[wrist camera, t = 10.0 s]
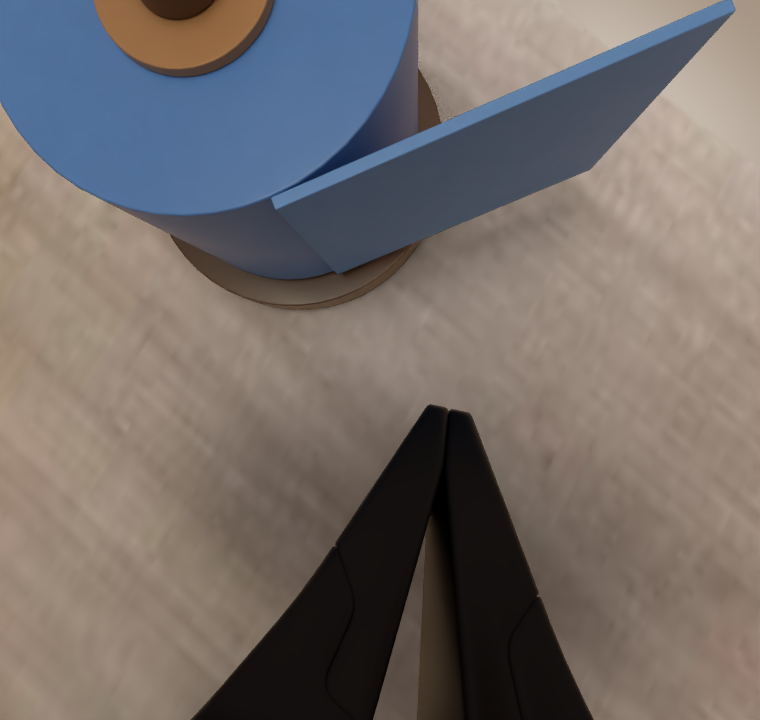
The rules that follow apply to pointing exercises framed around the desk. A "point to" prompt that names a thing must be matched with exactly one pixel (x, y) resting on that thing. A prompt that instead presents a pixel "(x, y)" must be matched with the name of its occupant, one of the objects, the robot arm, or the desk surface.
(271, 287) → the holder
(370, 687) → the robot arm
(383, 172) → the towel roll
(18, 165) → the desk surface
